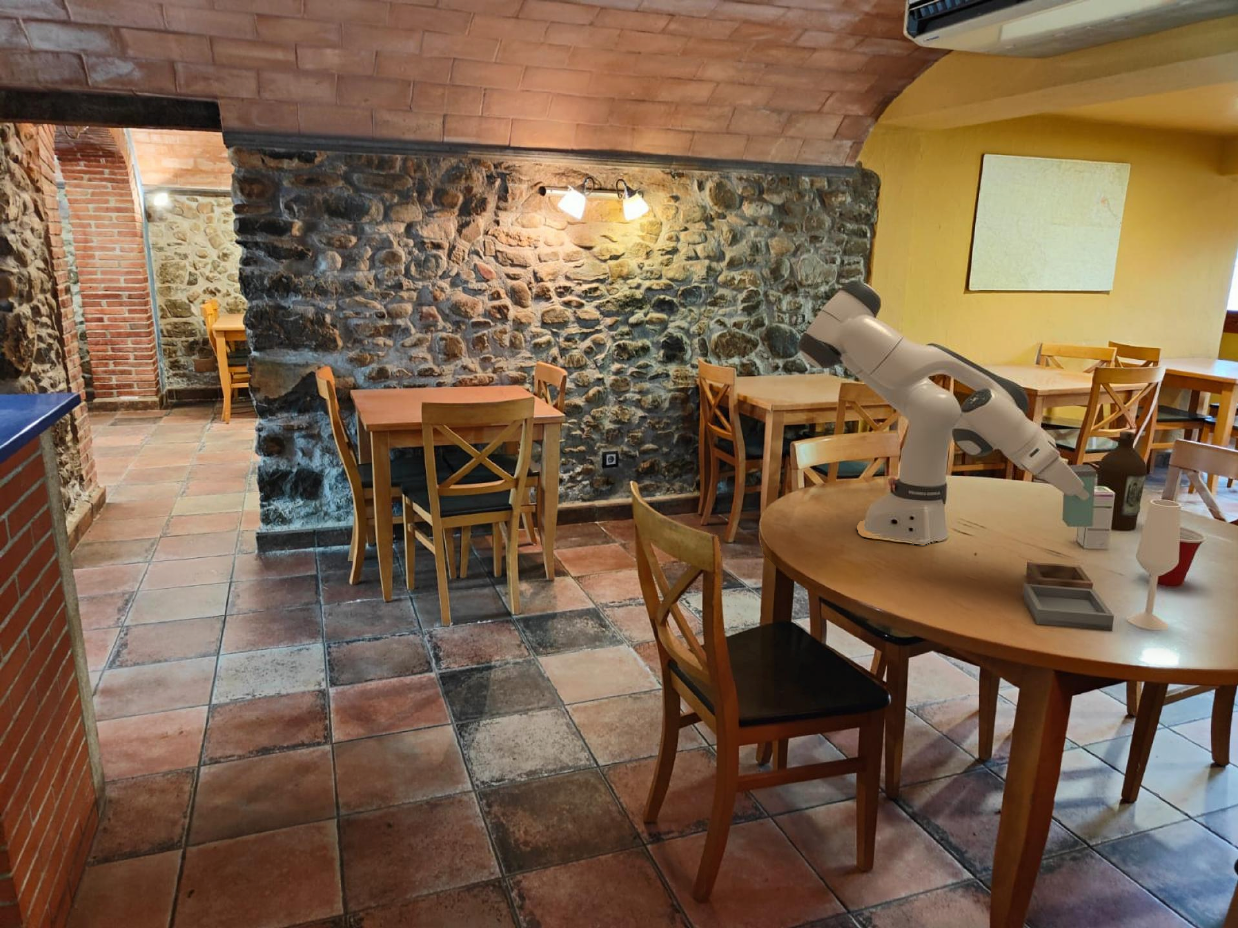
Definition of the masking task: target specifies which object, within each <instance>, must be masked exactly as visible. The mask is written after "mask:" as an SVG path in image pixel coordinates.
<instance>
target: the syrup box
mask: <svg viewBox="0 0 1238 928" xmlns="http://www.w3.org/2000/svg"><path fill="white" fill-rule="evenodd" d="M1114 498H1115V493H1114V492H1113V491H1112V490H1110V489H1109V488H1107V487H1105V486H1097V485H1095V489H1094V508H1093V527H1076V528H1077V529H1076V538H1075V539H1076V540H1075V541H1076V542H1077V543H1078V544H1079V546H1081V547H1082V548H1083V549H1086V550H1106V551H1107V550H1109V547H1110V540H1111V533H1112V530H1111V524H1112V515H1113V506H1114Z"/></svg>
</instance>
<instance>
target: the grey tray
mask: <svg viewBox="0 0 1238 928" xmlns="http://www.w3.org/2000/svg"><path fill="white" fill-rule="evenodd" d="M1021 598H1022V600H1023V601H1024V603H1025V605H1026V607H1027V608H1028V609H1027V610H1028V611H1029V613H1030V615H1031V617H1032V619H1033V621H1034V622H1035V625H1047V626H1055V627H1056V626H1057V627H1068V628H1069V627H1070V628H1078V629H1079V628H1081V629H1091V630H1101V631H1112V632H1113V627H1114V619H1115V615H1114V613H1112V611H1111V610H1110V609H1109V607H1108V606H1107V605H1106V603H1105V602H1104V600H1103V599H1102V597H1100V596H1099V593H1097V592H1096V590H1095V589H1094V588H1093V589H1083V588H1071V587H1058V586H1045V585H1033V584H1031V583H1030V584H1029V583H1023V587H1022V597H1021Z"/></svg>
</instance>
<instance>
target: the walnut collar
mask: <svg viewBox="0 0 1238 928" xmlns="http://www.w3.org/2000/svg"><path fill="white" fill-rule="evenodd" d="M1025 576H1026V577H1027V579H1028V580H1029V582H1030V584H1033V585H1045V586H1058V587H1071V588H1083V589H1094V588H1093V586H1094V582H1093V581H1092V580H1091V579H1090V577H1089V576H1088V575H1087V573H1086V572H1085V571H1084V570H1083V568H1082V566H1080V565H1079V564H1078V565H1075V564H1062V563H1050V562H1049V563H1046V562H1036V561H1035V562H1034V561H1027V562H1026V570H1025Z"/></svg>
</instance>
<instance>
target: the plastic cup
mask: <svg viewBox="0 0 1238 928" xmlns="http://www.w3.org/2000/svg"><path fill="white" fill-rule="evenodd" d="M1206 539H1207V536H1206V535H1205V534H1204V533H1202V532H1200V531H1198V530H1195V529H1192V528H1191V527H1190V528H1189V527H1188V526H1187V527H1186V526H1182V525H1180V542H1179V563H1178V565H1177V566H1176V567H1175V568H1174V569H1172V570H1171V571H1169V572H1167V573H1165V574H1163V575H1161V576H1158V581H1157V585H1159V586H1163V587H1167V588H1168V587H1169V588H1170V587H1171V588H1179V587H1182V586H1183V584H1184V582H1185V579H1186V578H1187V574H1188V572H1189V571H1190V568H1191V565H1192V563H1193V561H1194V559H1195V556H1196V553H1197V551H1198V549H1199V548H1200V546H1201V544H1202V543H1203V542H1205V540H1206ZM1149 577H1151V575H1150V574H1149Z"/></svg>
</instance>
